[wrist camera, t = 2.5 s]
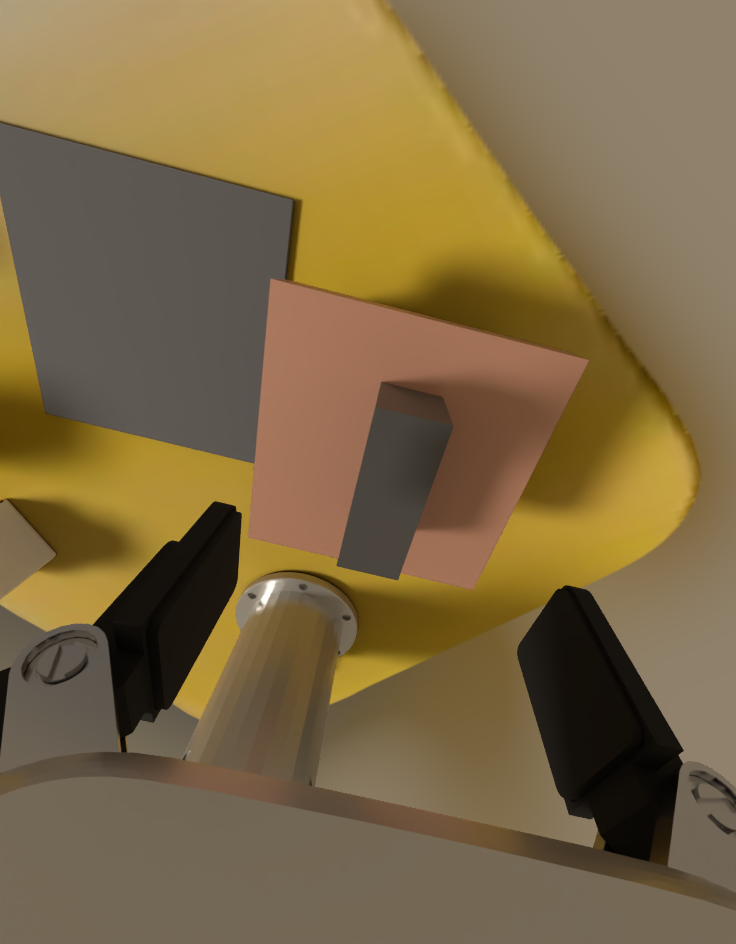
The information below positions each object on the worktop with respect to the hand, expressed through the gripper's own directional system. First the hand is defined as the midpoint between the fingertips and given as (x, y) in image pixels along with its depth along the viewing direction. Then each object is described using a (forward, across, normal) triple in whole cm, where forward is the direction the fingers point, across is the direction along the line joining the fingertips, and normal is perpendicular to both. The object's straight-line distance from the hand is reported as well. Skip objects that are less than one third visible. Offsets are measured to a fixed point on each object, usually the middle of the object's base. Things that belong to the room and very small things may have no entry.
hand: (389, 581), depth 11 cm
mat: (+18, +18, -1) cm, 26 cm away
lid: (+11, 0, +1) cm, 12 cm away
